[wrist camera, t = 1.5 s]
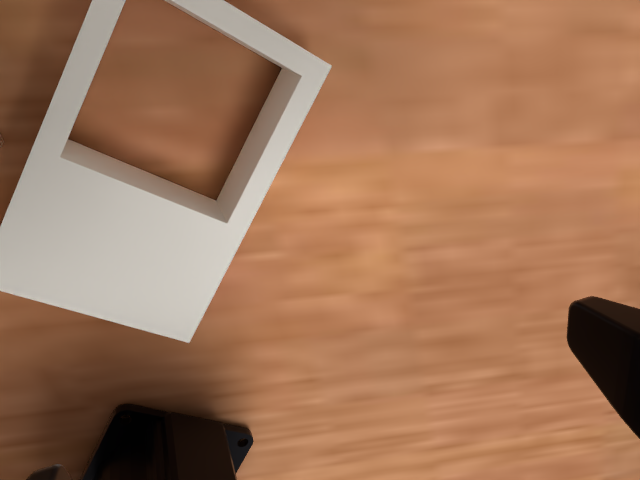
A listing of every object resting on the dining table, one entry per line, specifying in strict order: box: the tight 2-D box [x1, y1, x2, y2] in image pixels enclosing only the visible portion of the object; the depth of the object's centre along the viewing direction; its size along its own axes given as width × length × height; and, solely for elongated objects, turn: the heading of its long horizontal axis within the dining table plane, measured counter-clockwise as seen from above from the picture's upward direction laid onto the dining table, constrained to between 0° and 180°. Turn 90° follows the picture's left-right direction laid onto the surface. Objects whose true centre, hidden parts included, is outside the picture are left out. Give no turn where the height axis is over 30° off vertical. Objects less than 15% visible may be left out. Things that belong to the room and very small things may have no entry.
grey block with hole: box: [0, 0, 332, 343], centre depth 18 cm, size 11×7×2 cm, turn 149°
